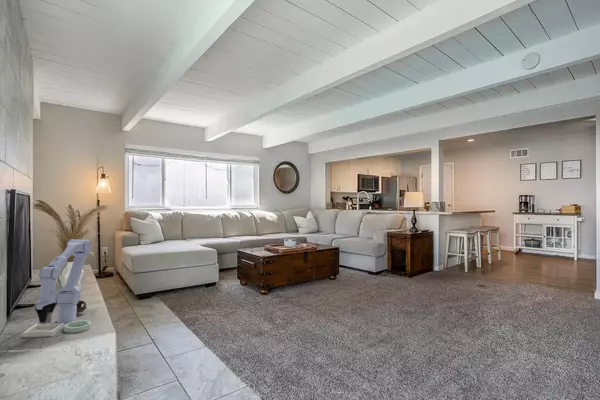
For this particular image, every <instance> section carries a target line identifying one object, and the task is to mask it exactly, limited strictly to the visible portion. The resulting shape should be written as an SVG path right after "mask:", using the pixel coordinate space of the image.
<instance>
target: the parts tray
mask: <svg viewBox="0 0 600 400" xmlns="http://www.w3.org/2000/svg"><path fill="white" fill-rule="evenodd" d="M64 325H65V323H58V322H56V323H55V322H53V323H52V322H50V323H47V324H39V323H35V324H34V325H32V326H30V327H29V328H27V329H26V330H24V331H23V332H21V333H22V334H21V338H34V337H35V338H36V337H37V338H38V337H53V336H55V335H56V334H57V333H58V332H60V331H61V330H63V329H64Z"/></svg>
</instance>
